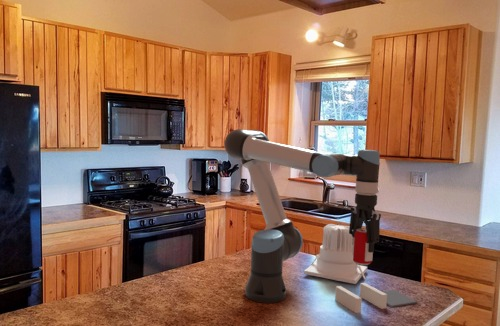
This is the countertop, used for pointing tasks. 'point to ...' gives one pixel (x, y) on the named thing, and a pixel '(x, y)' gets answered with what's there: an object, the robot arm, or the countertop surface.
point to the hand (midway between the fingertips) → (362, 257)
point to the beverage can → (360, 247)
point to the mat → (397, 299)
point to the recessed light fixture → (336, 256)
